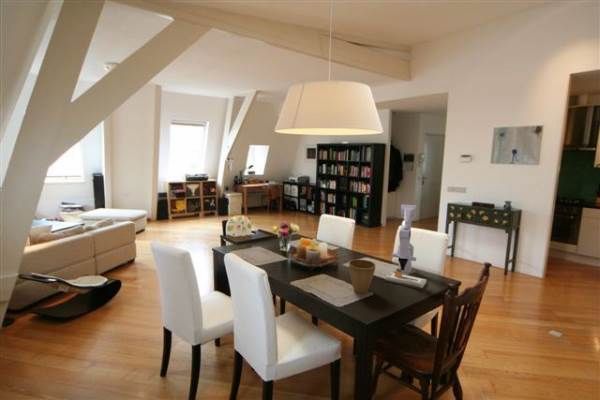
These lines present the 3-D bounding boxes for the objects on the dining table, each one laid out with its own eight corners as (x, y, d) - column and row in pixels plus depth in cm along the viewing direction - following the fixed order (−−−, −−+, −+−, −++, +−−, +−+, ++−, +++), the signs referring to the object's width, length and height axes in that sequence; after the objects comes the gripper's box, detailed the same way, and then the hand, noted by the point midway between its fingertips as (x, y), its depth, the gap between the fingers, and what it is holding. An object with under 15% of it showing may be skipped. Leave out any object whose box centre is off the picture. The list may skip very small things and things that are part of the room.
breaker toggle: (396, 274, 206) (396, 267, 206) (402, 275, 204) (402, 268, 203) (394, 275, 204) (394, 269, 203) (400, 277, 202) (401, 270, 201)
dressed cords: (392, 273, 214) (392, 271, 214) (427, 280, 203) (427, 278, 203) (384, 281, 201) (384, 279, 201) (420, 289, 189) (420, 287, 189)
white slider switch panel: (390, 274, 212) (390, 271, 211) (426, 282, 200) (426, 279, 199) (385, 279, 204) (385, 276, 204) (422, 287, 192) (422, 284, 192)
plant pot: (350, 296, 180) (351, 268, 177) (345, 285, 194) (346, 259, 192) (377, 296, 180) (378, 268, 178) (370, 285, 195) (372, 259, 192)
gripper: (390, 248, 201) (389, 269, 203) (414, 252, 193) (413, 274, 195) (393, 245, 206) (392, 266, 209) (417, 249, 199) (416, 271, 201)
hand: (402, 270), depth 202 cm, fingers closed
